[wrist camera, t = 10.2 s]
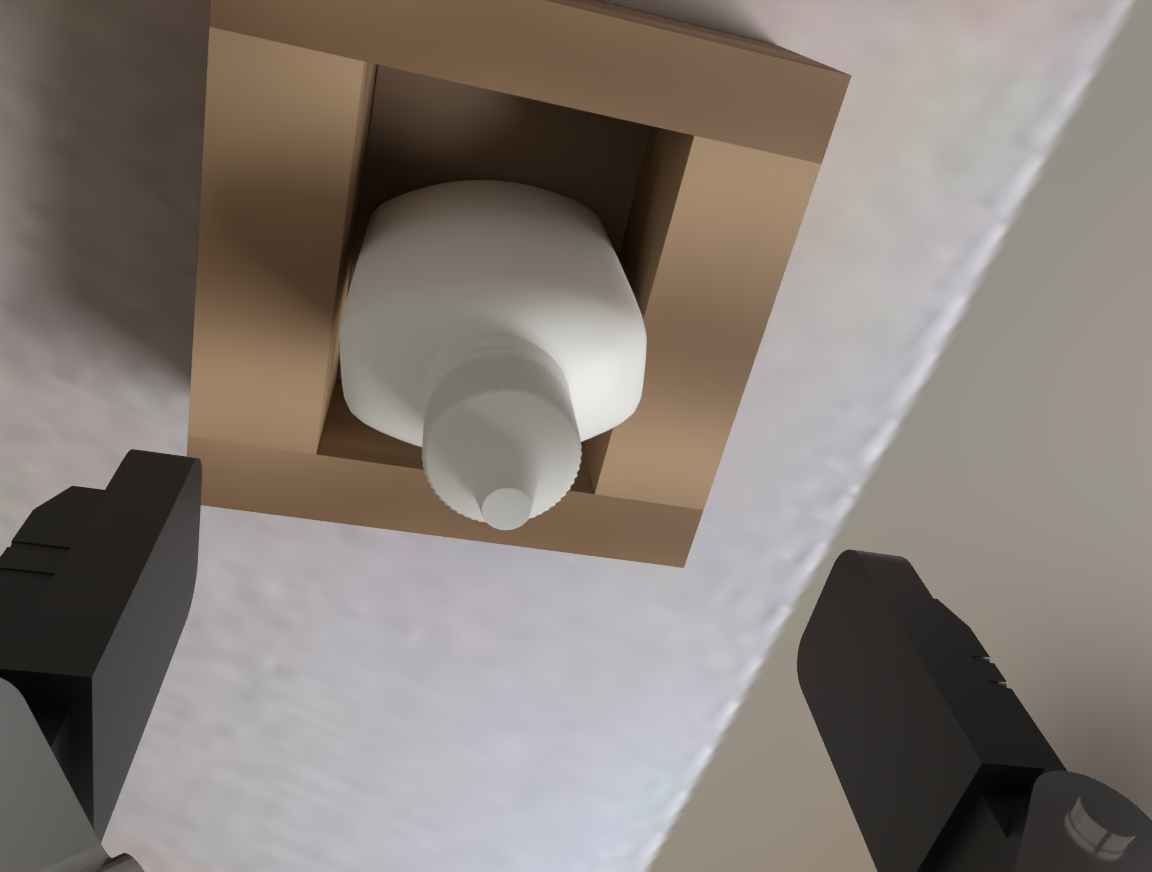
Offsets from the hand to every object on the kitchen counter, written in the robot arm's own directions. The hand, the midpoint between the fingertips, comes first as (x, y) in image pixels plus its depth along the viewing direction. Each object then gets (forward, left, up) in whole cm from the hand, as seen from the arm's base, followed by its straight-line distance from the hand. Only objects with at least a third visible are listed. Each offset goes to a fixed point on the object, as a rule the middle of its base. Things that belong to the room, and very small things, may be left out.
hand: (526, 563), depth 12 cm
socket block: (0, 0, -15) cm, 15 cm away
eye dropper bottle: (0, 0, -14) cm, 14 cm away
